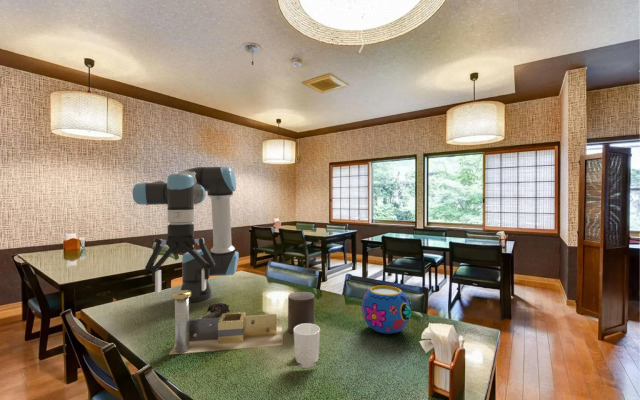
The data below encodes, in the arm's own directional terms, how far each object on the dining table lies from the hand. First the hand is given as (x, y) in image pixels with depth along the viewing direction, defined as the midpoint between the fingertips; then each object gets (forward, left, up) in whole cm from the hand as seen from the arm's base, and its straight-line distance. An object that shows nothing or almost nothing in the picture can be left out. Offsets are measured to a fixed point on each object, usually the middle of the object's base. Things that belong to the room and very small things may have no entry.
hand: (181, 290), depth 92 cm
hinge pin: (0, 0, -19) cm, 19 cm away
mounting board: (-6, +14, -20) cm, 25 cm away
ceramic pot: (-5, +70, -20) cm, 73 cm away
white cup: (+11, +39, -20) cm, 45 cm away
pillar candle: (-8, +39, -20) cm, 44 cm away
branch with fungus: (-25, +3, -21) cm, 32 cm away
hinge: (-6, +15, -19) cm, 25 cm away
